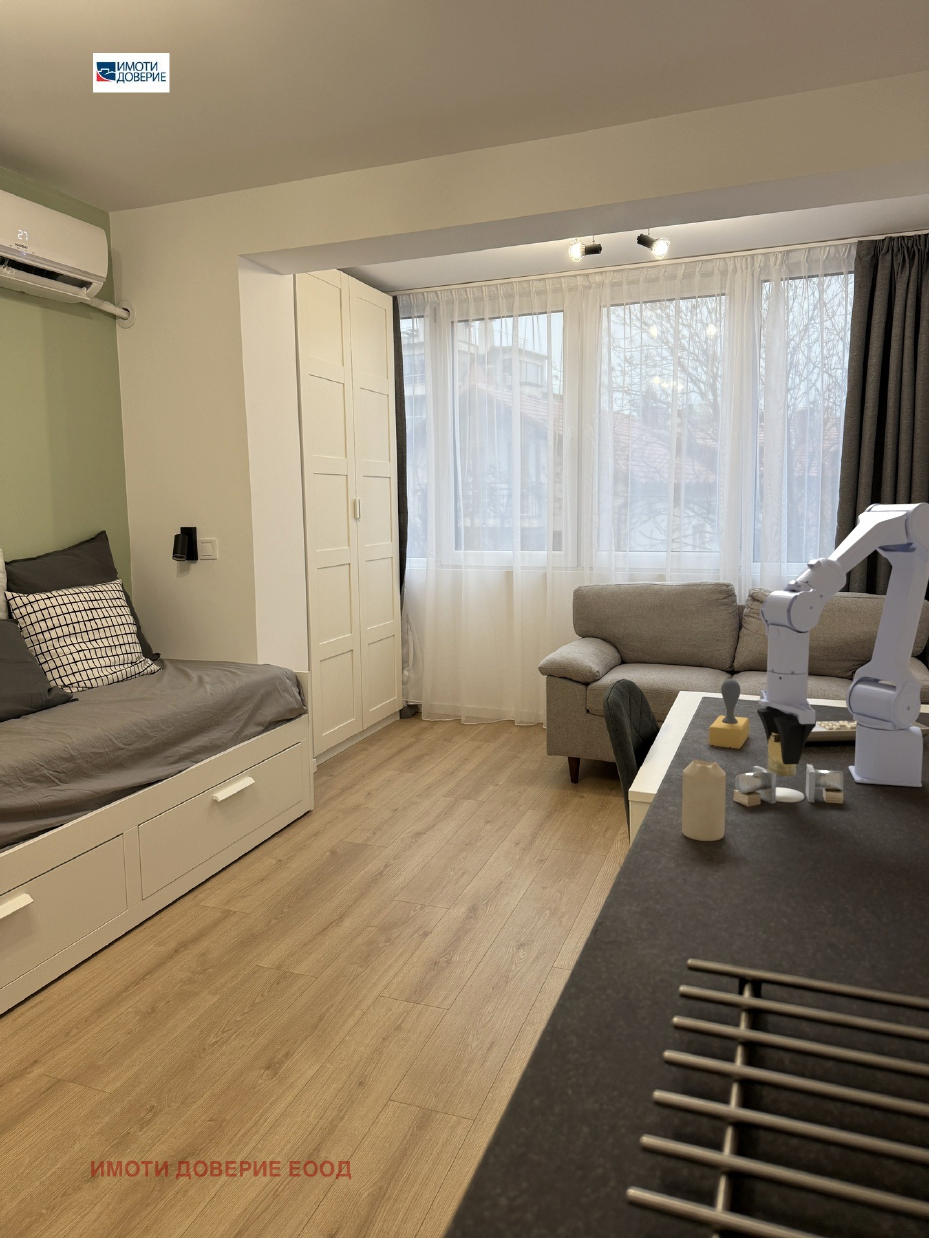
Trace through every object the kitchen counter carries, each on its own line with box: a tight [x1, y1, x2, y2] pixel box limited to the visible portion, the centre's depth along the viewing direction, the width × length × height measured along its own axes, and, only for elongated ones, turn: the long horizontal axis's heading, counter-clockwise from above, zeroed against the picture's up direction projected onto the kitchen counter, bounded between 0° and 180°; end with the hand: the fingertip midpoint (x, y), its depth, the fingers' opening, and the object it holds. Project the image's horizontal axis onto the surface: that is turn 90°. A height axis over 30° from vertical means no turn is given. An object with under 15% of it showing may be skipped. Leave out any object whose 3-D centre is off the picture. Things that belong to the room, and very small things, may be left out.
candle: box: [681, 759, 727, 842], centre depth 111 cm, size 6×6×10 cm
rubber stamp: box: [708, 678, 750, 749], centre depth 157 cm, size 10×6×12 cm, turn 153°
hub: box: [767, 732, 797, 777], centre depth 126 cm, size 4×4×6 cm
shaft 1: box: [733, 765, 777, 808], centre depth 124 cm, size 5×4×5 cm
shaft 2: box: [805, 763, 845, 804], centre depth 124 cm, size 5×4×5 cm
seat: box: [775, 786, 805, 803], centre depth 126 cm, size 6×6×1 cm
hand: (784, 759), depth 126 cm, fingers closed on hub, 4 cm apart
